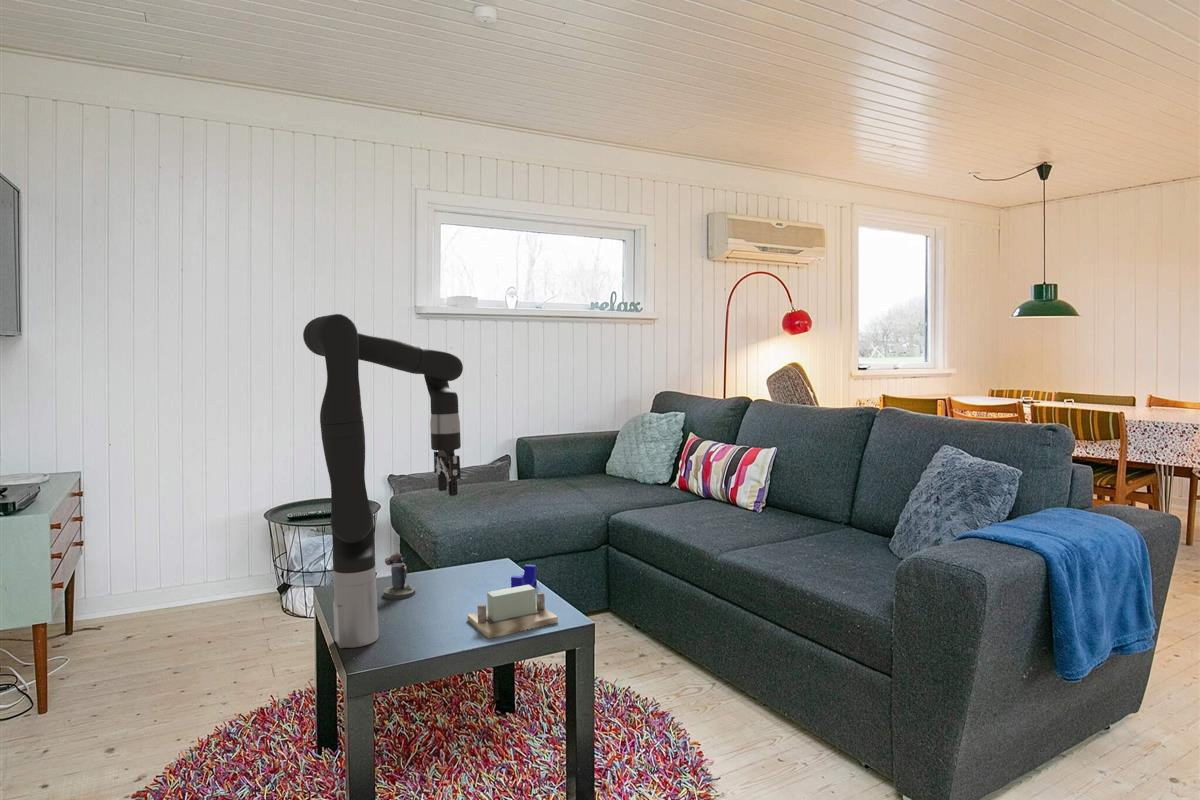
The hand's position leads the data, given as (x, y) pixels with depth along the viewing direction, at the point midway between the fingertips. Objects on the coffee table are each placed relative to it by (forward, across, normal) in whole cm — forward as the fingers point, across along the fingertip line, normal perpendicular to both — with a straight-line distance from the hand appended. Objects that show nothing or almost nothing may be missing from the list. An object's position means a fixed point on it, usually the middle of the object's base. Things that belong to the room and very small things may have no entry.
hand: (447, 493), depth 187 cm
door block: (+28, -19, -9) cm, 35 cm away
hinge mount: (+30, -19, -9) cm, 37 cm away
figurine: (+30, +18, +9) cm, 36 cm away
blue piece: (+30, +1, -20) cm, 37 cm away
